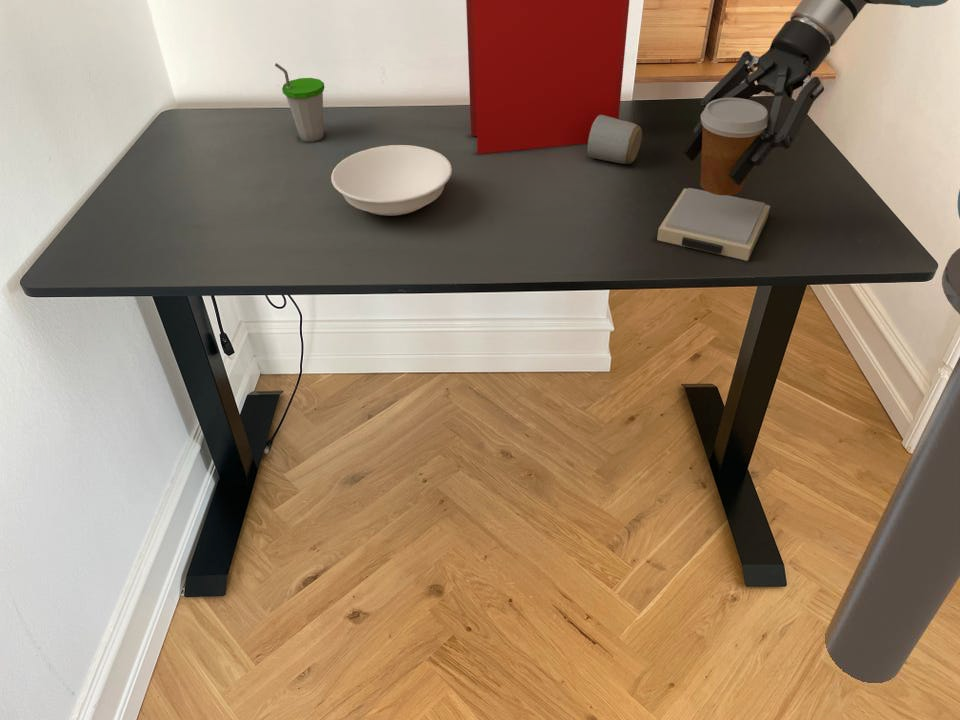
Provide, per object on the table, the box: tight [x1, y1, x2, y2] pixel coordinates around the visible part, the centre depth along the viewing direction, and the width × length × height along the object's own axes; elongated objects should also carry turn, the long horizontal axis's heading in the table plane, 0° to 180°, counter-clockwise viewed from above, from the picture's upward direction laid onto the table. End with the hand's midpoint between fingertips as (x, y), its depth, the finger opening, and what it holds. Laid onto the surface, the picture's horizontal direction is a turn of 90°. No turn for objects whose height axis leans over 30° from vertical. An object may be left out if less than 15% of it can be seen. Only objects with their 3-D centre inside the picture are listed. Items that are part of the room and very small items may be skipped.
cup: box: [274, 62, 325, 143], centre depth 149 cm, size 8×8×15 cm
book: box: [465, 0, 631, 155], centre depth 140 cm, size 27×8×32 cm, turn 99°
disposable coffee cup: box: [700, 98, 769, 196], centre depth 115 cm, size 10×10×12 cm
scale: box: [656, 187, 771, 262], centre depth 123 cm, size 14×15×3 cm
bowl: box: [330, 144, 453, 217], centre depth 130 cm, size 20×20×6 cm
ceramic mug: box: [587, 115, 643, 165], centre depth 141 cm, size 11×8×8 cm
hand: (710, 167), depth 115 cm, fingers closed on disposable coffee cup, 9 cm apart
